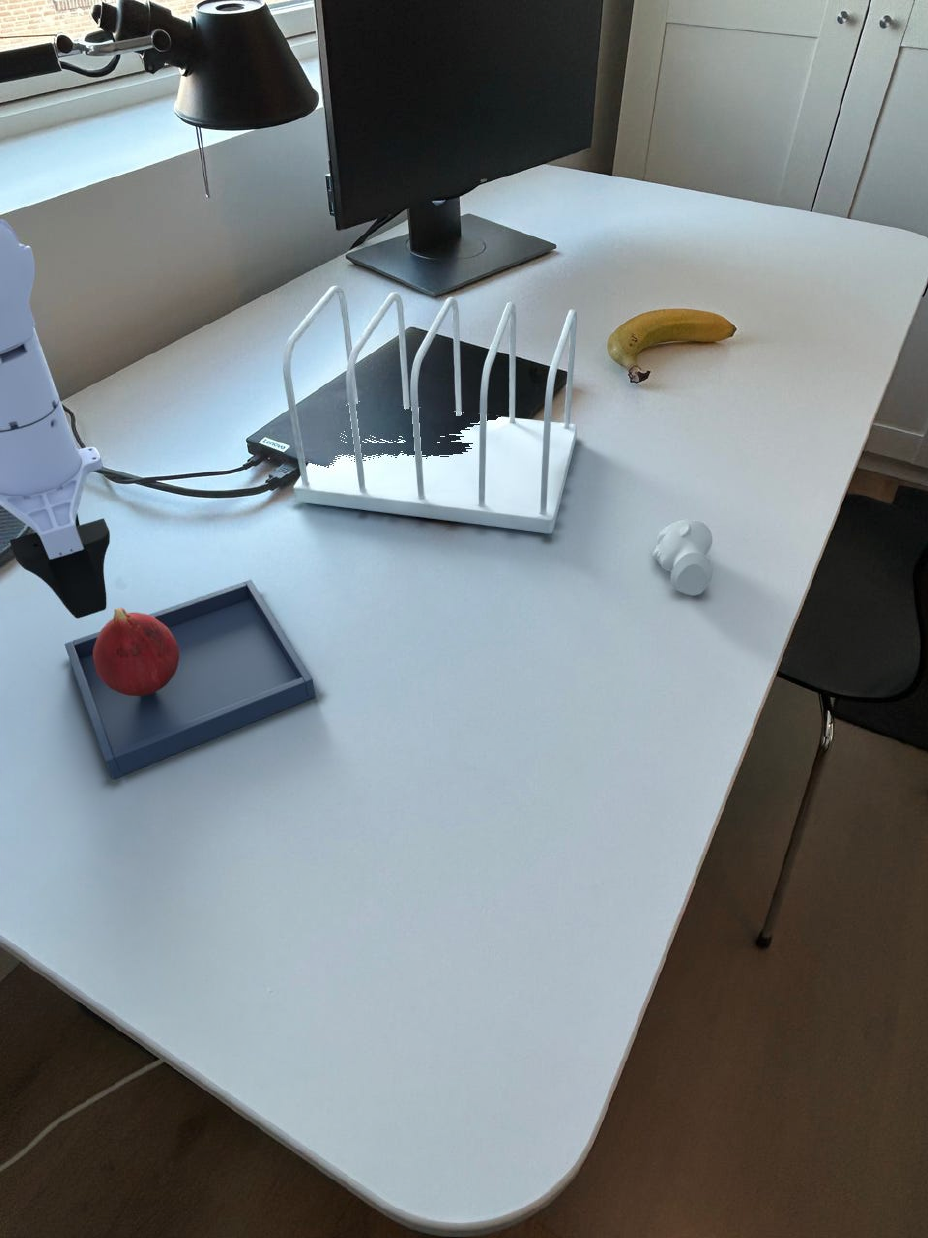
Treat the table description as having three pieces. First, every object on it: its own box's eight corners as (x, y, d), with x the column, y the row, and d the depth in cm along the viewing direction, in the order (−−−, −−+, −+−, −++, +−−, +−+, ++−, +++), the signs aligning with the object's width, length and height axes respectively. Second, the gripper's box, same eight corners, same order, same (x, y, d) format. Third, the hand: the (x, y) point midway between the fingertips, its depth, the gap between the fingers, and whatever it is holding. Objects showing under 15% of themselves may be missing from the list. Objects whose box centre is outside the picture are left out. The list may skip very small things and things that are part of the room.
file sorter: (576, 439, 93) (590, 295, 82) (551, 538, 81) (564, 383, 70) (350, 413, 97) (336, 272, 86) (294, 504, 85) (268, 352, 74)
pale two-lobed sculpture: (658, 551, 81) (715, 544, 79) (654, 607, 75) (716, 600, 73) (650, 512, 78) (708, 504, 77) (645, 567, 73) (709, 559, 71)
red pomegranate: (203, 672, 68) (179, 594, 62) (160, 726, 64) (132, 648, 58) (138, 654, 69) (110, 577, 64) (93, 707, 65) (59, 629, 60)
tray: (113, 779, 61) (105, 761, 60) (72, 661, 69) (64, 643, 68) (316, 696, 67) (312, 678, 65) (255, 596, 75) (251, 578, 74)
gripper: (105, 445, 50) (162, 620, 59) (54, 344, 59) (111, 509, 68) (-29, 481, 47) (53, 658, 56) (-60, 370, 56) (15, 537, 66)
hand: (78, 579), depth 62 cm, fingers open, 7 cm apart
